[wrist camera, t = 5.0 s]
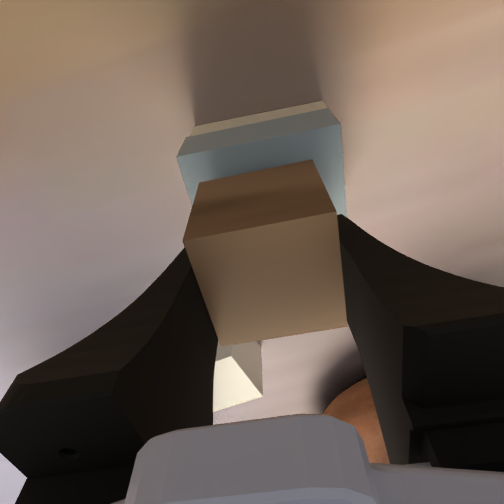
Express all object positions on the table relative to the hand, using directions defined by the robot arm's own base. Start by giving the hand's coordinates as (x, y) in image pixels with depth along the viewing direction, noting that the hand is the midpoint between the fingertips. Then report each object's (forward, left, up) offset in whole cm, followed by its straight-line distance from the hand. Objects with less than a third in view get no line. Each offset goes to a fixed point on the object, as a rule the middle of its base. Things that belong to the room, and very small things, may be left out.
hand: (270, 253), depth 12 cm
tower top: (0, 0, -5) cm, 5 cm away
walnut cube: (0, 0, -2) cm, 2 cm away
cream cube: (-11, +5, -8) cm, 14 cm away
